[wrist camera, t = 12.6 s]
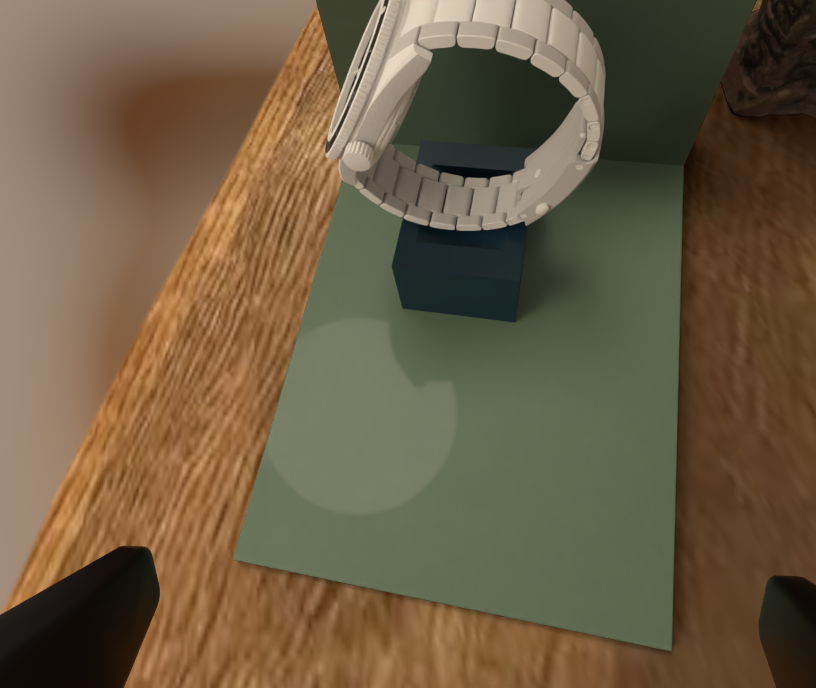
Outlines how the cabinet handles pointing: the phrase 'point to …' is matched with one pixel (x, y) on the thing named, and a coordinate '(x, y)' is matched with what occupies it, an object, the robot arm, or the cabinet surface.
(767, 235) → the cabinet surface
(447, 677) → the cabinet surface
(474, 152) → the watch
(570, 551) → the green display stand
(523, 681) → the cabinet surface
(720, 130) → the cabinet surface
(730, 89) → the statue
